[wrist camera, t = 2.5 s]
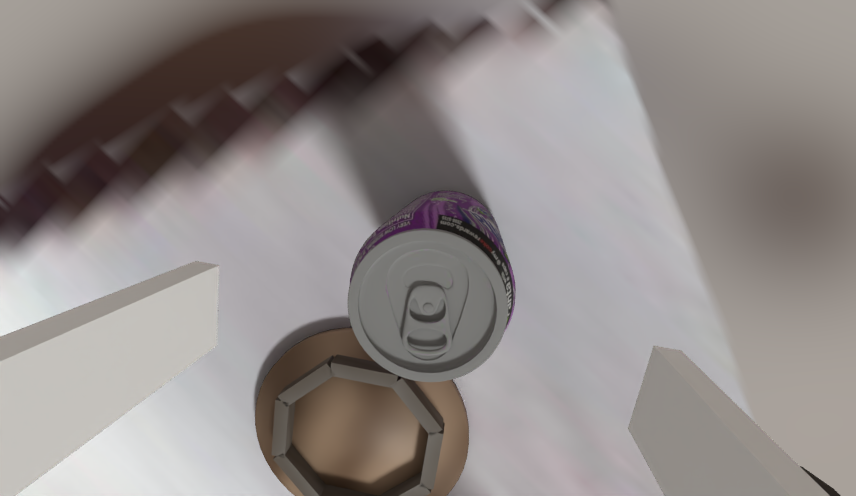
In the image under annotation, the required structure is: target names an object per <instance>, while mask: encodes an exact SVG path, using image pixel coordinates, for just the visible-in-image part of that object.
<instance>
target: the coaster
mask: <svg viewBox="0 0 856 496" xmlns="http://www.w3.org/2000/svg"><path fill="white" fill-rule="evenodd" d="M255 425H256V432H257V437H258V441H259V444H260V448H261V450H262V453H263V455H264V457H265V459H266V461H267V463H268V465H269V466H270V468H271V470H272V471H273V473H274V474H275V475H276V477H277V478H278V479H279V481H280V482H281V483H282V484H283V485H284V486H285V487H286V488H287V489H288V490H289V491H290V492H291V493H292V494H294V495H295V496H446V495H447V494H448V493H449V492H450V491H451V490H452V488H453V487H454V485H455V484H456V482H457V481H458V479H459V477H460V475H461V473H462V471H463V469H464V465H465V462H466V458H467V453H468V445H469V426H468V418H467V413H466V409H465V406H464V403H463V400H462V397H461V395H460V393H459V391H458V389H457V387H456V385H455V384H454V382H453V381H452V380H447V381H441V382H421V381H415V380H410V379H407V378H403V377H401V376H398V375H396V374H394V373H392V372H390V371H388V370H386V369H385V368H383V367H382V366H380V365H379V364H378V363H377V362H375V361H374V360H373V359H372V358H371V357H370V356H369V355H368V354H367V353H366V351H365V350H364V349H363V347H362V346H361V345H360V343H359V341H358V340H357V338H356V336H355V334H354V331H353V329H352V328H340V329H333V330H329V331H325V332H321V333H318V334H315V335H313V336H311V337H308V338H306V339H304V340H303V341H301V342H299V343H298V344H296V345H295V346H293V347H292V348H291V349H290V350H288V351H287V352H286V353H285V354H284V355H283V356H282V357H281V358H280V359H279V360H278V361H277V363H276V364H275V365H274V366H273V367H272V368H271V370H270V371H269V373H268V374H267V376H266V377H265V379H264V382H263V384H262V386H261V388H260V391H259V395H258V398H257V403H256V411H255Z"/></svg>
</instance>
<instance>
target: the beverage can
mask: <svg viewBox="0 0 856 496" xmlns="http://www.w3.org/2000/svg"><path fill="white" fill-rule="evenodd" d="M514 305H515V280H514V275H513V271H512V268H511V265H510V262H509V259H508V256H507V253H506V250H505V247H504V244H503V241H502V238H501V235H500V232H499V229H498V226H497V224H496V221H495V220H494V218H493V216H492V215H491V213H490V212H489V211H488V210H487V209H486V208H485V207H484V206H483V205H482V204H481V203H480V202H478V201H477V200H475V199H474V198H472V197H470V196H468V195H465V194H462V193H459V192H454V191H437V192H432V193H428V194H426V195H423V196H421V197H419V198H417V199H416V200H414V201H413V202H411V203H410V204H409V205H408V206H406V207H405V208H404V209H402V210H401V211H400V212H399V213H397V214H396V215H395V216H394V217H392V218H391V219H390V220H388V221H387V222H386V223H385V224H383V225H382V226H381V227H379V228H378V229H377V230H376V231H375V232H374V233H373V234H372V235H371V236H370V237H369V238H368V239H367V241H366V242H365V243H364V245H363V246H362V248H361V249H360V251H359V253H358V255H357V257H356V259H355V262H354V265H353V268H352V272H351V278H350V287H349V293H348V313H349V319H350V323H351V326H352V329H353V331H354V334H355V336H356V338H357V340H358V341H359V343H360V345H361V346H362V347H363V349H364V350H365V351H366V353H367V354H368V355H369V356H370V357H371V358H372V359H373V360H374V361H375V362H377V363H378V364H379V365H380V366H382V367H383V368H385V369H386V370H388V371H390V372H392V373H394V374H396V375H398V376H401V377H403V378H407V379H410V380H415V381H421V382H441V381H447V380H452V379H455V378H458V377H461V376H463V375H466V374H468V373H470V372H471V371H473V370H475V369H476V368H478V367H479V366H480V365H482V364H483V363H484V362H485V361H486V360H487V359H488V358H489V357H490V356H491V355H492V353H493V352H494V351H495V349H496V348H497V346H498V345H499V343H500V341H501V339H502V337H503V334H504V332H505V330H506V329H507V327H508V325H509V322H510V320H511V317H512V314H513V310H514Z"/></svg>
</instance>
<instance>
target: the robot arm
mask: <svg viewBox="0 0 856 496" xmlns="http://www.w3.org/2000/svg"><path fill="white" fill-rule="evenodd" d="M218 288H219V265H215V264H209V263H204V262H199V261H195V262H192V263H189V264H187V265H184V266H182V267H179V268H177V269H174V270H171V271H169V272H166V273H164V274H161V275H159V276H156V277H153V278H151V279H148V280H146V281H143V282H141V283H138V284H135V285H133V286H130V287H128V288H125V289H122V290H120V291H117V292H115V293H112V294H110V295H107V296H104V297H102V298H99V299H97V300H94V301H92V302H89V303H86V304H84V305H81V306H79V307H76V308H73V309H71V310H68V311H66V312H63V313H61V314H58V315H55V316H53V317H50V318H48V319H45V320H43V321H40V322H37V323H35V324H32V325H30V326H27V327H25V328H22V329H19V330H17V331H14V332H12V333H9V334H6V335H4V336H1V337H0V496H16V495H17V494H18V493H20V492H21V491H22V490H24V489H25V488H26V487H28V486H29V485H30V484H32V483H33V482H34V481H36V480H37V479H38V478H40V477H41V476H42V475H44V474H45V473H46V472H48V471H49V470H50V469H52V468H53V467H55V466H56V465H57V464H59V463H60V462H61V461H63V460H64V459H65V458H67V457H68V456H69V455H71V454H72V453H73V452H75V451H76V450H77V449H79V448H80V447H81V446H83V445H84V444H85V443H87V442H88V441H89V440H91V439H92V438H93V437H95V436H96V435H98V434H99V433H100V432H102V431H103V430H104V429H106V428H107V427H108V426H110V425H111V424H112V423H114V422H115V421H116V420H118V419H119V418H120V417H122V416H123V415H124V414H126V413H127V412H128V411H130V410H131V409H132V408H134V407H135V406H136V405H138V404H139V403H141V402H142V401H143V400H145V399H146V398H147V397H149V396H150V395H151V394H153V393H154V392H155V391H157V390H158V389H159V388H161V387H162V386H163V385H165V384H166V383H167V382H169V381H170V380H171V379H173V378H174V377H175V376H177V375H178V374H180V373H181V372H182V371H184V370H185V369H186V368H188V367H189V366H190V365H192V364H193V363H194V362H196V361H197V360H198V359H200V358H201V357H202V356H204V355H205V354H206V353H208V352H209V351H210V350H212V349H213V348H214V347H216V346H217V325H218ZM628 429H629V431H630V433H631V435H632V436H633V438H634V440H635V442H636V444H637V446H638V448H639V449H640V451H641V453H642V455H643V457H644V459H645V460H646V462H647V464H648V466H649V468H650V470H651V471H652V473H653V475H654V477H655V479H656V481H657V482H658V484H659V486H660V488H661V490H662V492H663V493H664V495H665V496H840V495H839V494H838V493H837V492H836V491H835V490H834V489H833V488H832V487H830V486H829V485H827V484H826V483H824V482H823V481H821V480H820V479H819V478H817V477H816V476H814V475H813V474H812V473H810V472H809V471H807V470H806V469H804V468H803V467H801V466H799V465H798V464H797V463H796V462H795V461H794V460H793V459H792V458H791V457H790V456H789V455H788V454H787V453H786V452H784V450H782V449H781V448H780V447H779V446H778V445H777V444H776V443H775V442H774V441H773V440H772V439H771V438H770V437H769V436H768V435H767V434H766V433H765V432H764V431H763V430H762V429H761V428H760V427H759V426H758V425H757V424H756V423H755V422H754V421H753V420H752V419H751V418H750V417H749V416H748V415H747V414H746V413H745V412H744V411H743V410H742V409H741V408H739V407H738V406H737V405H736V404H735V403H734V402H733V401H732V400H731V399H730V398H729V397H728V396H727V395H726V394H725V393H724V392H723V391H722V390H721V389H720V388H719V387H718V386H717V385H716V384H715V383H714V382H713V381H712V380H711V379H710V378H709V377H708V376H707V375H706V374H705V373H704V372H703V371H702V370H701V369H700V368H699V367H698V366H696V365H695V364H694V363H693V362H692V361H691V360H690V359H689V358H688V357H687V356H686V355H685V354H684V353H683V352H682V351H680V350H675V349H669V348H664V347H658V346H653V349H652V353H651V356H650V359H649V362H648V366H647V369H646V372H645V375H644V379H643V382H642V385H641V388H640V391H639V395H638V398H637V401H636V404H635V408H634V411H633V414H632V417H631V420H630V424H629V427H628Z"/></svg>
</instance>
